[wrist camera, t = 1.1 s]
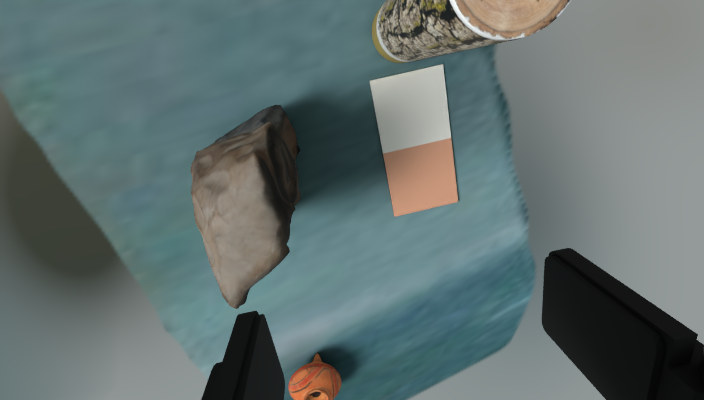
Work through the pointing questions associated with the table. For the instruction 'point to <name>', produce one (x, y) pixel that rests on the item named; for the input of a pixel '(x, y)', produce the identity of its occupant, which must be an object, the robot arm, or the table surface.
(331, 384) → the pot
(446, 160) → the board
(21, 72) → the table surface
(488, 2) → the birch log
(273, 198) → the brown owl figurine
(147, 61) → the table surface
